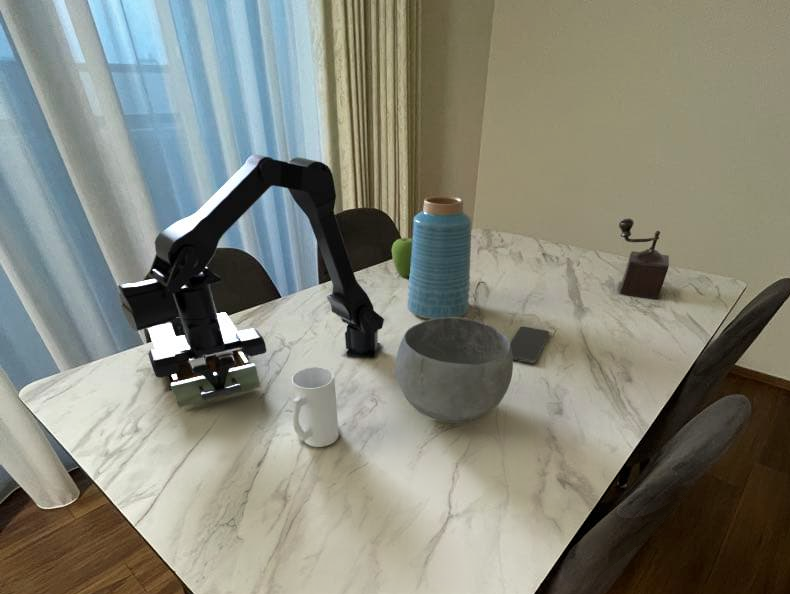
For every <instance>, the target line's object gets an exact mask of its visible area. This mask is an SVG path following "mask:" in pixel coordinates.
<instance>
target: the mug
mask: <svg viewBox="0 0 790 594" xmlns="http://www.w3.org/2000/svg"><path fill="white" fill-rule="evenodd" d="M291 383H292V389H293V394H294V399H292V412H291V413H292V415H291V417H292V426H293V430H294V431H295V433H296V435H297V437H298V439H299V440H300V441H303V442H304V443H305V444H306V445H308V446H310V447H315V448H322V447H328V446H330V445H332V444H334V443H335V442H336V441H337V440H338V438H339V434H340V433H339V419H338V408H337V407H338V406H337V396H336V395H337V394H336V382H335V373H334V372H333V371H332V370H330V369H329V368H327V367H322V366H310V367H304V368H301V369H299V370H297V371H296V372H295V373H294V374H293V375H292V377H291Z"/></svg>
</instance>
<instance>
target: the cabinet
mask: <svg viewBox="0 0 790 594" xmlns="http://www.w3.org/2000/svg"><path fill="white" fill-rule="evenodd" d="M217 316H218V320H219V324H220V328H221V332H222V336H223V340H226V341H228V340H233V339H236V336H235V332H236V331H239V330H238V329H237V327H236V326H235V325H234V323H233V322H232V320H231V318H230V317H229V315H228V314H227V313H226V312H225V311H224V312H220V313H217ZM146 330H147V332H148V335H149V337H150V340H151V344H152V346H153V349H155V348H160V347H165V346H170V345H171V346H172V348H173V351H174V352H177V351H182V350H187V349H190V347H189V345H188V344H187V342H186V338H185V335H183V336H178V337H176V336H175V334H174V331H173V328H172V325H171V322H168V323H165V324H161V325H157V326H154V327H150V328H147V329H146ZM241 351H242V352H243V354H244V355H245V357H246V358H247V360H248V361H249V364H251V363H250V359H249V355H247V354H245V353H244V349H241ZM163 378H164V380H165V384H166V385H167V389H168V390H172V388H171V385H170V383H174V382H173V379H172V376H171V375H169V376H165V377H163Z"/></svg>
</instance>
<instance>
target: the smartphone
mask: <svg viewBox="0 0 790 594" xmlns="http://www.w3.org/2000/svg"><path fill="white" fill-rule="evenodd" d="M549 335H550V331H549V330H546V329H540V328H535V327H530V326H524V325H522V326H519V327H518V329H517V331H516V333H515V334H514V336H513V337H512V339H511V341H510V345H511V350H512V355H513V361H517V362H522V363H527V364H535V363H537V360H538V358H539V356H540V354H541V352H542V349H543V348H544V345H545V344H546V342H547V340H548V339H549V338H548V337H549Z"/></svg>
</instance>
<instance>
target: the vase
mask: <svg viewBox="0 0 790 594" xmlns="http://www.w3.org/2000/svg"><path fill="white" fill-rule="evenodd" d="M412 220H413V221H412V222H413V225H412V236H411V237H412V238H411V239H412V251H411V264H410V265H411V266H410V274H409V276H408V277H409V278H408V286H407V287H408V293H407V302H406V304H407V305H406V306H407V308H408V309H407V310H408V311H409V312H411V313H412V314H413V315H415V316H416V317H418V318H421V319H423V320H426V321H427V320H431V319H434V318H441V317H459V318H461V317H463V316H464V315H466V313H467V312H468V311H469V308H470V301H469V300H470V290H471V289H470V287H471V286H470V285H471V280H470V279H471V274H470V273H471V253H472V252H471V251H472V249H471V248H472V226H473V225H472V223H473V219H472V217H471V216H470V215H469V214H467V213H466V212H465V211H464V200H463V199H462V198H460V197H457V196H449V195H432V196H429V197H425V198H424V200H423V210H421V211H420V212H418V213H417V214H415V215H414V217H413V219H412Z"/></svg>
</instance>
